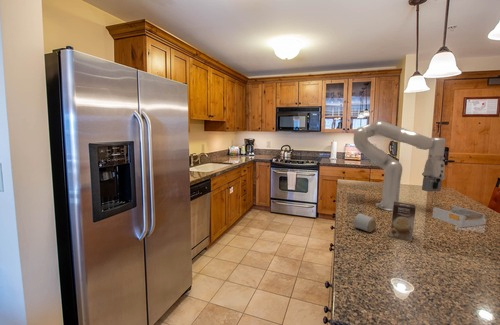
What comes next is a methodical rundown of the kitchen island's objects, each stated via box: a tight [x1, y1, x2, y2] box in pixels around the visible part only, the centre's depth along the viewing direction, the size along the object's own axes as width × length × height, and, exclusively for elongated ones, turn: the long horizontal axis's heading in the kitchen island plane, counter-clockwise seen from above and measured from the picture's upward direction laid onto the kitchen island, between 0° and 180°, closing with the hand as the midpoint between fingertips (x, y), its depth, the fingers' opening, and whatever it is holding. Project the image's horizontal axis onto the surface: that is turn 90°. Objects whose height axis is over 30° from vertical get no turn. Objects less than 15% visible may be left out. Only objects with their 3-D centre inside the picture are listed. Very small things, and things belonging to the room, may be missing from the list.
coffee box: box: [389, 201, 417, 242], centre depth 123 cm, size 9×6×16 cm
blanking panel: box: [421, 176, 443, 192], centre depth 158 cm, size 10×4×8 cm, turn 106°
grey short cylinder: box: [353, 213, 377, 233], centre depth 132 cm, size 11×8×8 cm
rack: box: [432, 205, 486, 228], centre depth 146 cm, size 16×16×6 cm
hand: (431, 187), depth 159 cm, fingers closed on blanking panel, 4 cm apart
